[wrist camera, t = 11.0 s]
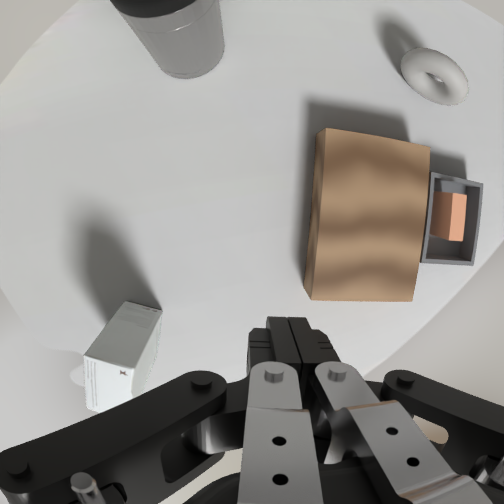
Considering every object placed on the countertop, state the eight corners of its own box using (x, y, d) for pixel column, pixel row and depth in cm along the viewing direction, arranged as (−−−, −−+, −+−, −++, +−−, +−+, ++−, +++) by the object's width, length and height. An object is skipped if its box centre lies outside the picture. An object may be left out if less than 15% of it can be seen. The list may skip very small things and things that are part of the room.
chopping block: (316, 134, 38) (326, 127, 33) (411, 150, 39) (430, 147, 34) (303, 287, 42) (311, 300, 38) (396, 289, 43) (412, 301, 38)
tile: (452, 192, 34) (466, 195, 34) (428, 190, 40) (442, 192, 40) (448, 240, 35) (462, 241, 35) (425, 232, 41) (438, 233, 41)
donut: (445, 99, 37) (485, 85, 28) (437, 115, 38) (479, 104, 28) (394, 57, 36) (427, 32, 26) (385, 73, 37) (419, 49, 27)
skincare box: (125, 299, 42) (79, 349, 28) (166, 310, 43) (134, 366, 28) (121, 349, 44) (82, 409, 29) (158, 360, 44) (131, 425, 30)
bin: (416, 172, 40) (431, 171, 36) (467, 182, 40) (483, 183, 36) (407, 256, 42) (421, 263, 38) (458, 259, 42) (473, 265, 39)
